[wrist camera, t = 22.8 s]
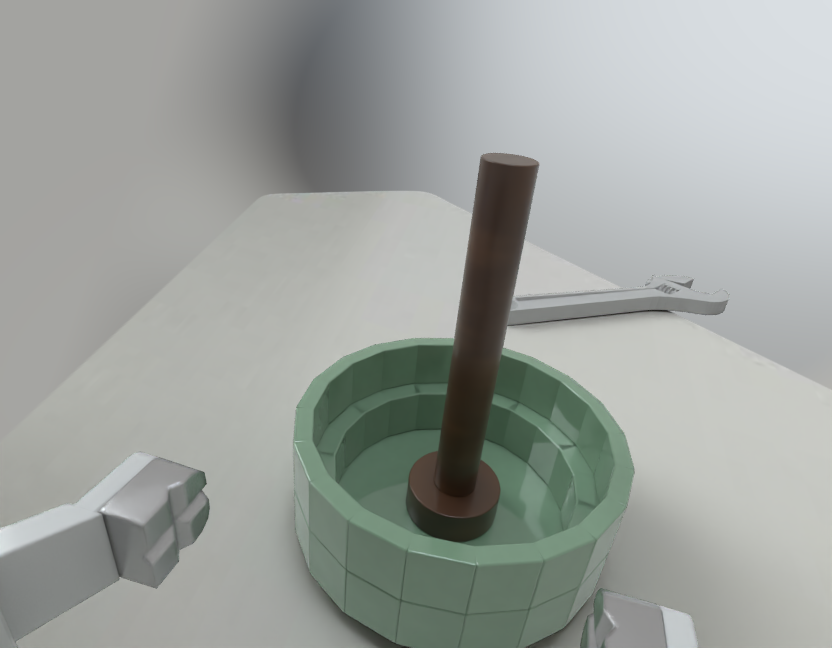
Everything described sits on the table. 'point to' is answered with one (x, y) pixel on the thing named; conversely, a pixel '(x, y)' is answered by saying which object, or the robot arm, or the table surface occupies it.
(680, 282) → the adjustable wrench
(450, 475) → the muddler
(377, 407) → the bowl
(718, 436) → the table surface
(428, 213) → the table surface
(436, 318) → the table surface
